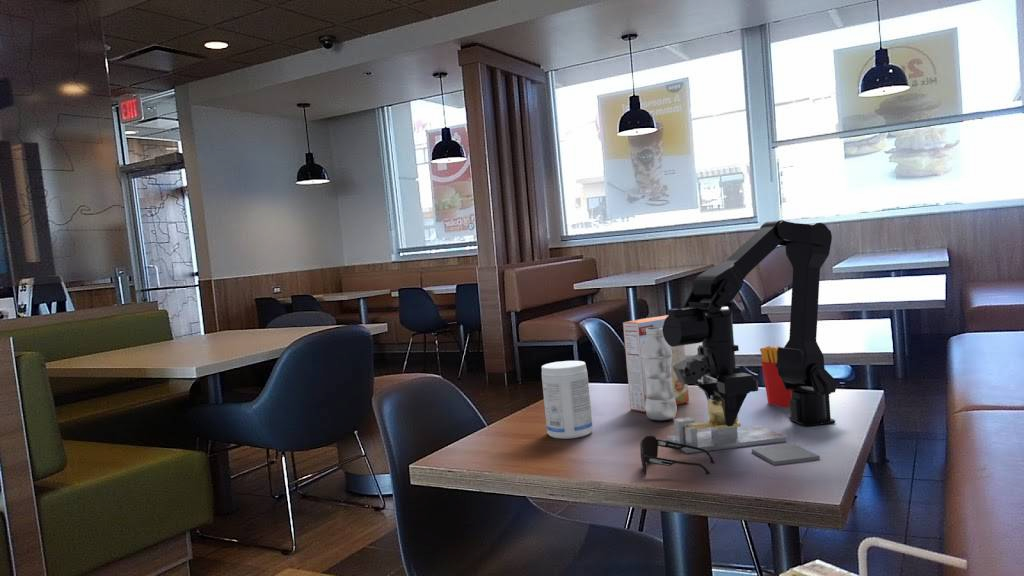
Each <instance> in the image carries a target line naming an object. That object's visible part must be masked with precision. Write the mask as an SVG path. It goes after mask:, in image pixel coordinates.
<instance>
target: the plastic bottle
mask: <svg viewBox="0 0 1024 576" xmlns="http://www.w3.org/2000/svg"><path fill="white" fill-rule="evenodd" d="M646 337H648V339H647V341H646V343H645V344H644V346H643V348H642V350H641V357H642V362H643V366H644V371H645V377H646V402H645V410H646V412H645V413H646V416H647V418H649V419H650V420H652V421H654V420H655V421H660V422H661V421H668V420H672V419H675V417H676V415H677V410H678V409H677V408H678V407H677V405H676V401H675V398H674V394H673V388H672V381H671V362H672V351H671V348H670V346H669V345H668V344H667V342H666V341H665V340H664V338H663V331H662V327H651V328H646Z"/></svg>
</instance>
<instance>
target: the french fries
mask: <svg viewBox="0 0 1024 576" xmlns="http://www.w3.org/2000/svg"><path fill="white" fill-rule="evenodd" d="M779 347H781V348H784V346H777V347H775V346H773V347H772V346H771V345H770V346H769V345H767V346H765V347H762V348H759V351H760V354H761V358H762V361H761V367H762V374H763V379H764V386H765V391H766V398H767V404H768V403H769V405H770V404H771V406H776V405H778V407H785V406H786V407H787V408H790V399H792V392H791V391H794V390H786V389H785V386H784V384H783V381H782V378H781V377H780V376H779V374H778V368H776V364H777V350H778V348H779Z"/></svg>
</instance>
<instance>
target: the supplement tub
mask: <svg viewBox="0 0 1024 576" xmlns="http://www.w3.org/2000/svg"><path fill="white" fill-rule="evenodd" d="M541 382H542V383H541V384H542V393H543V403H544V414H545V424H546V431H547V432H546V433H547V434H548V435H549V437H551V438H554V439H560V440H561V439H564V440H566V439H567V440H568V439H569V440H570V439H577V438H581V437H585V436H588V435H590V434H591V433H592V431H593V415H592V407H591V395H590V387H589V386H590V383H589V377H588V370H587V364H586V362H585V361H582V360H564V361H563V360H562V361H554V362H549V363H545V364H543V365H541Z"/></svg>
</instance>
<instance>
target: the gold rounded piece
mask: <svg viewBox="0 0 1024 576" xmlns="http://www.w3.org/2000/svg"><path fill="white" fill-rule="evenodd" d="M707 411H708V420H706V421H699V422H695V423H690V424H685V428H687V427H695V428H697V430H700V429H711V427H714V428H716V429H722V428H731V427H737V428H739V427H742V423H741V422H739V418H738V415H739V414H738V415H737V418H736V420H735V422H734V425H733V426H727V425H726V421H725V416H724V411H723V406H722V401H721V398H720V397H719V396H717V395H716V394H715V395H710V397H709V398H708V400H707Z"/></svg>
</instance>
